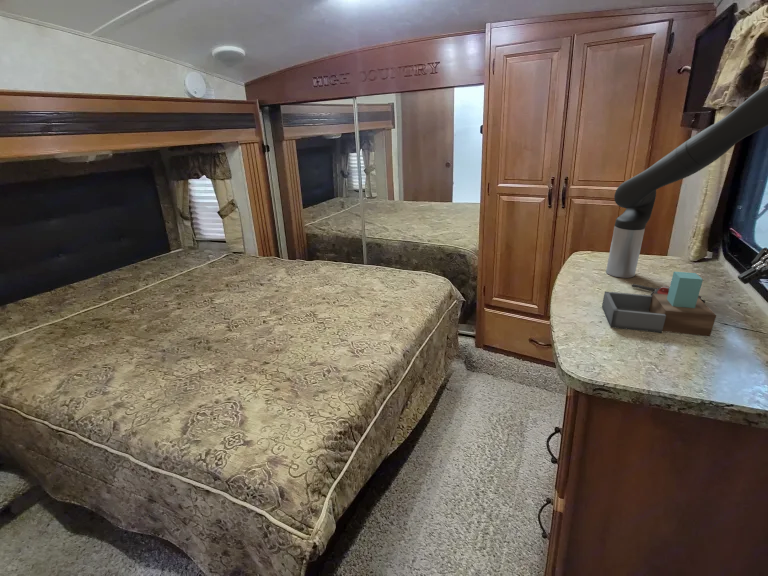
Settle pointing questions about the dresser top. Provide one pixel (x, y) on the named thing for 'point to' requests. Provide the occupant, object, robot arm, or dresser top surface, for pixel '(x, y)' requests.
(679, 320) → the brown box
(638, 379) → the dresser top surface
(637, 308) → the box
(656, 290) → the walkie-talkie
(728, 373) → the dresser top surface
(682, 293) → the block
